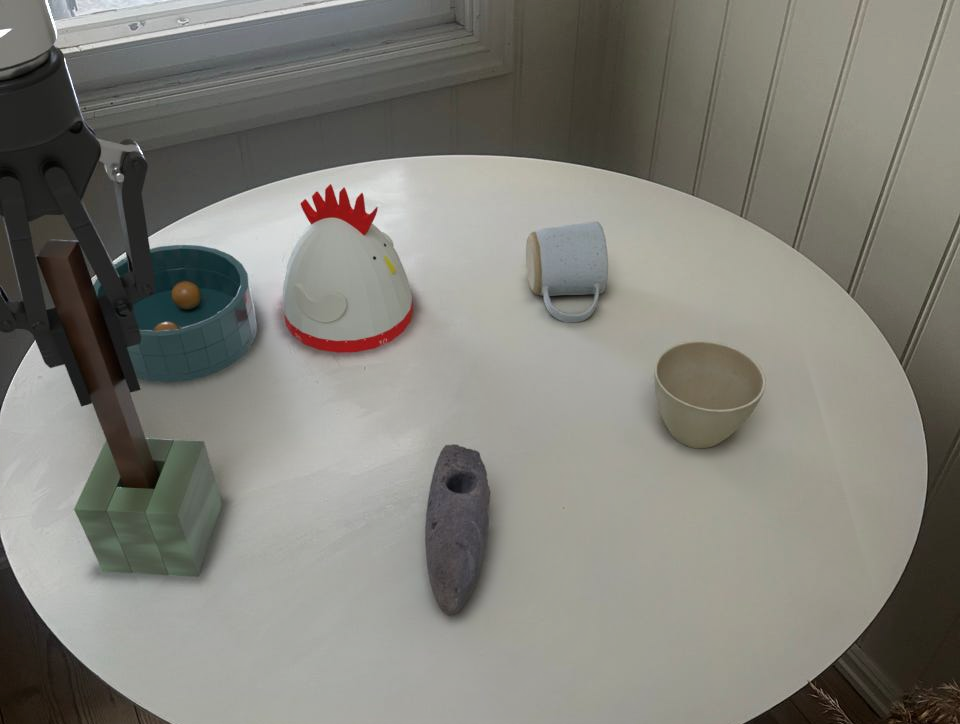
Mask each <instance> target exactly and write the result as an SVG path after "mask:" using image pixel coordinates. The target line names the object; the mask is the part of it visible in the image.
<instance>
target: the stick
mask: <svg viewBox="0 0 960 724" xmlns="http://www.w3.org/2000/svg"><path fill="white" fill-rule="evenodd" d="M35 258H36V262H37V263H38V264H37V265H38V266H39V269H40V271H41V274H42V276H43V280H44V282H45V284H46V287H47V290H48V292H49V295H50V297H51V301H52V303H53V305H54V308H56V310H57V313H58V316H59V318H60V321H61V322H62V325H63V328H64V330H65V333H66V335H67V338H68V341H69V343H70V346H71V348H72V351H73V354H74V356H75V359H76V361H77V364H78V367H79V369H80V372H81V374H82V377H83V380H84V382H85V385H86V387H87V390H88V393H89V395H90V398H91V401H92V404H91V405H92V406H93V409H94V411H95V415H96V416H97V419H98V422H99V425H100V428H101V430H102V432H103V435H104V438H105V441H106V440H107V443H108V446H109V448H110V451H111V453H112V456H113V458H114V461H115V464H116V466H117V469H118V471H119V474H120V477H121V479H122V482H123V484H124V487H125V488H145V489H154V487H155V485H156V482H157V480H158V474H157V471H156V468H155V465H154V462H153V459H152V456H151V453H150V450H149V447H148V444H147V441H146V435H145V433H144V430H143V427H142V424H141V421H140V418H139V415H138V412H137V409H136V406H135V404H134V400H133V398H132V394H131V393H130V391H129V388H128V386H127V383H126V380H125V378H124V375H123V372H122V369H121V366H120V363H119V360H118V357H117V354H116V351H115V348H114V345H113V342H112V339H111V337H110V334H109V331H108V328H107V325H106V322H105V319H104V316H103V313H102V310H101V307H100V303H99V300H98V297H97V294H96V292H95V289H94V286H93V285H94V283H93V280H92V277H91V274H90V271H89V268H88V266H87V262H86V260H85V255H84V252H83V249H82V247H81V246H80V244H79V242H78V240H63V239H47V240H46V241H45V243H44V244H43V246H42V247H41V249H40V250H39V252H38V253H37V255H35Z"/></svg>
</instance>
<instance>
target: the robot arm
mask: <svg viewBox="0 0 960 724" xmlns="http://www.w3.org/2000/svg"><path fill="white" fill-rule="evenodd" d="M57 38H58V33H57V29H56V25H55V21H54V19H53V16H52V12H51V8H50V6H49V3H48V0H0V217H1V218H2V220H3V224H4V229H5V233H6V237H7V241H8V245H9V250H10V254H11V259H12V264H13V267H14V272H15V276H16V281H17V285H18V290H19V294H20V298H21V300H11V299H10V298H9V296H8V294H7V292H6V291H5V289H4V288H3V286H2V284H1V283H0V332H1V333H3V334H10V333H12V332H14V331H16V330H25V331H27V332H30V333H31V335H32V336H33V338H34V341H35V343H36V345H37V346H36V347H37V348H38V351H39V352H40V356H41V357H42V360H43V362H44V364H45V365H46V366H47V367H48V368H49V369H53V368H56V367H60V366H64V367H65V369H66V371H67V374H68V377H69V379H70V382H71V384H72V387H73V389H74V392H75V394H76V398H77V399H78V402H79V404H80V405H79V406H80V407H85V406H88V405H93V404H92V401H91V398H90V395H89V393H88V390H87V387H86V385H85V382H84V380H83V377H82V374H81V372H80V369H79V367H78V364H77V361H76V359H75V356H74V354H73V351H72V348H71V346H70V343H69V341H68V338H67V335H66V333H65V330H64V328H63V325H62V322H61V321H60V318H59V316H58V313H57V310H56V308H55V307H52V308H48V309H47V306H46V302H45V296H44V291H43V288H42V282H41V278H40V273H39V269H38V264H37V263H38V262H37V258H36V255H35V249H34V244H33V238H32V233H31V228H30V224H29V223H30V222H33V221H36V220H38V219H40V218H42V217H43V216H44V217H45V216H62V215H63V216H64V218H65V220H66V221H67V222H66V223H67V224H68V225H69V227H70V229H71V231H72V232H73V234H74V236H75V238H76V241H78V242H79V245H80V247H81V250H82V252H83V254H84V256H85V257H86V259H87V261H88V263H89V265H90V266H91V269H92V271H93V272H94V274H95V276H96V279H97V278H98V280H99V282H100V284H101V286H102V288H103V290H104V292H105V294H106V295H104V296H100V297H98V300H99V303H100V307H101V310H102V313H103V316H104V319H105V322H106V325H107V328H108V331H109V334H110V337H111V339H112V342H113V345H114V348H115V351H116V354H117V357H118V360H119V363H120V366H121V369H122V372H123V375H124V378H125V380H126V383H127V386H128V388H129V391H130V394H131V393H134V392H138V391H140V390H141V386H140V383H139V381H138V378H137V377H136V374H135V371H134V368H133V365H132V362H131V359H130V356H129V353H128V349H127V347H130V346H134V345H137V344H140V343H141V334H140V331H139V328H138V324H137V321H136V318H135V315H134V309H133V304H134V302H135V301H136V300H137V299H139V298H141V297H150V296H152V295H153V294H154V293H155V291H156V286H155V279H154V273H153V266H152V259H151V253H150V249H151V247H150V241H149V240H150V239H149V234H148V227H147V220H146V214H145V207H144V206H145V205H144V200H143V195H142V194H143V189H144V186H145V181H146V177H147V173H148V168H149V166H148V165H149V164H148V162H147V160H146V158H145V156H144V154H143V152H142V150H141V149H140V146H139V144H138V143H137V141H135V140H133V139H132V138H125V139H123V140H121V141H120V142H119V143H118V142H112V141H109V140H104V139H99V138H98V137H97V134H96V132H95V131H94V129H93V128H91V126H89V125H88V124H87V122H86V121H85V120H84V117H83V115H82V110H81V108H80V104H79V100H78V98H77V94H76V91H75V89H74V84H73V81H72V78H71V74H70V72H69V68H68V64H67V61H66V58H65V55H64V53H63V51H62V50H61V49H60V48H59V47H58V46H56V45H55V43H56V41H57ZM99 162H100V163H102V164H103V168H104V170H105V173H106V175H107V177H108V178H109V179H110V180H111V181H112V182H113V186H114V192H115V193H114V194H115V198H116V203H117V209H118V215H119V222H120V228H121V232H122V239H123V244H124V250H125V255H126V257H127V263H128V268H129V272H128V273H126V274H125V275H123V276H121V277H120V276H119V274H118V272H117V270H116V268H115V266H114V264H115V263H114V262H113V260H112V258H111V256H110V254H109V252H108V250H107V247H106V245H105V244H104V242H103V240H102V238H101V236H100V233H99V232H98V230H97V228H96V225H95V224H94V222H93V220H92V218H91V216H90V214H89V212H88V210H87V208H86V205H85V204H84V202H83V199H84V196H85V194H86V192H87V190H88V187H89V184H90V182H91V180H92V177H93V176H94V173H95V172H96V169H97V166H98V164H99Z"/></svg>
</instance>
